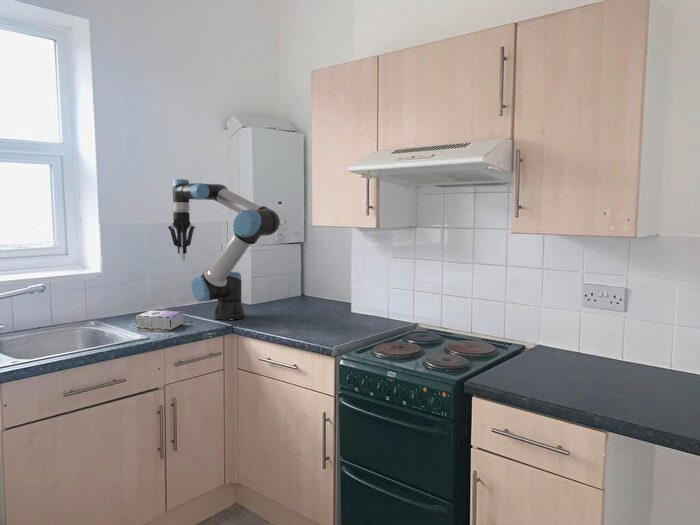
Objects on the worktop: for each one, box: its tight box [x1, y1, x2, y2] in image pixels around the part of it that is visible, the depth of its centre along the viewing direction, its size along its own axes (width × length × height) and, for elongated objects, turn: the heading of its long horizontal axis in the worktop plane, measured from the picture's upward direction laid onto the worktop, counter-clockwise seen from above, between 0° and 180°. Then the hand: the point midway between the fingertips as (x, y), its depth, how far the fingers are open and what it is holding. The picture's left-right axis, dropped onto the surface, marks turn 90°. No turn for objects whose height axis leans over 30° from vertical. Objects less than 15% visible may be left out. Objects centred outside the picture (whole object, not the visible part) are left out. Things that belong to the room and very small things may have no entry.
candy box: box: [135, 310, 184, 331], centre depth 252 cm, size 14×6×16 cm
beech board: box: [136, 328, 171, 333], centre depth 252 cm, size 14×16×1 cm
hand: (182, 260), depth 271 cm, fingers closed
